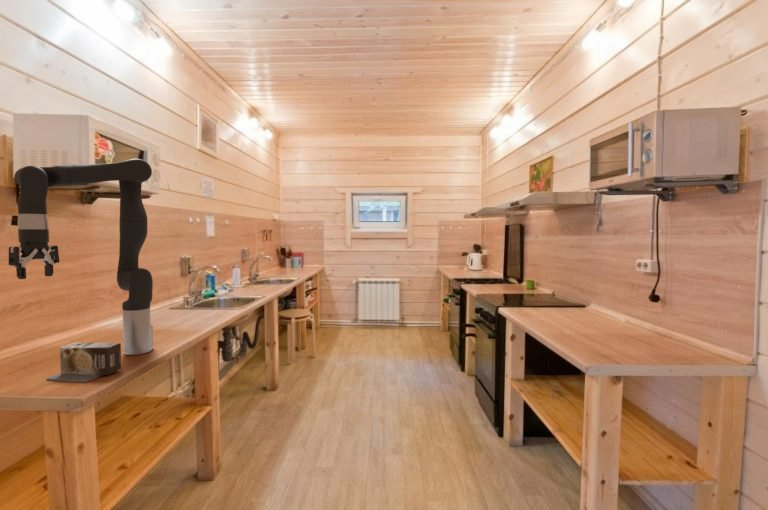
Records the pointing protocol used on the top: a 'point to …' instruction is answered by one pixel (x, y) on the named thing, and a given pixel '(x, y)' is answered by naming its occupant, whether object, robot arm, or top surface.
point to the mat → (73, 377)
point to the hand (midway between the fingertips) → (36, 277)
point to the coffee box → (90, 358)
